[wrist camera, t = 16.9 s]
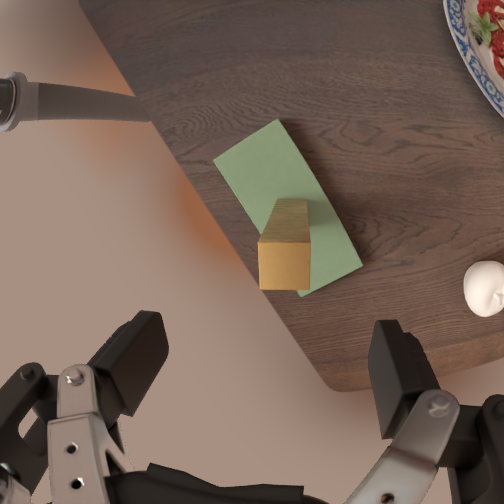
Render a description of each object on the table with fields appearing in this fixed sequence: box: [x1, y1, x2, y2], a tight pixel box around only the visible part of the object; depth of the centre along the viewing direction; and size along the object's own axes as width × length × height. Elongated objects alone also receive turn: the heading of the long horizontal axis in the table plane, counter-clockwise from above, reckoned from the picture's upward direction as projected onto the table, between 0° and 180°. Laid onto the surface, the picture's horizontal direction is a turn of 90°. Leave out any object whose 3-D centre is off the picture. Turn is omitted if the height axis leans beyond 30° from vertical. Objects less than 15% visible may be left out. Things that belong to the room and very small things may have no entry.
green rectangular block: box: [213, 119, 363, 297], centre depth 31 cm, size 18×8×2 cm, turn 33°
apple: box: [464, 261, 504, 317], centre depth 26 cm, size 7×7×8 cm
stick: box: [258, 199, 311, 290], centre depth 23 cm, size 3×3×14 cm
